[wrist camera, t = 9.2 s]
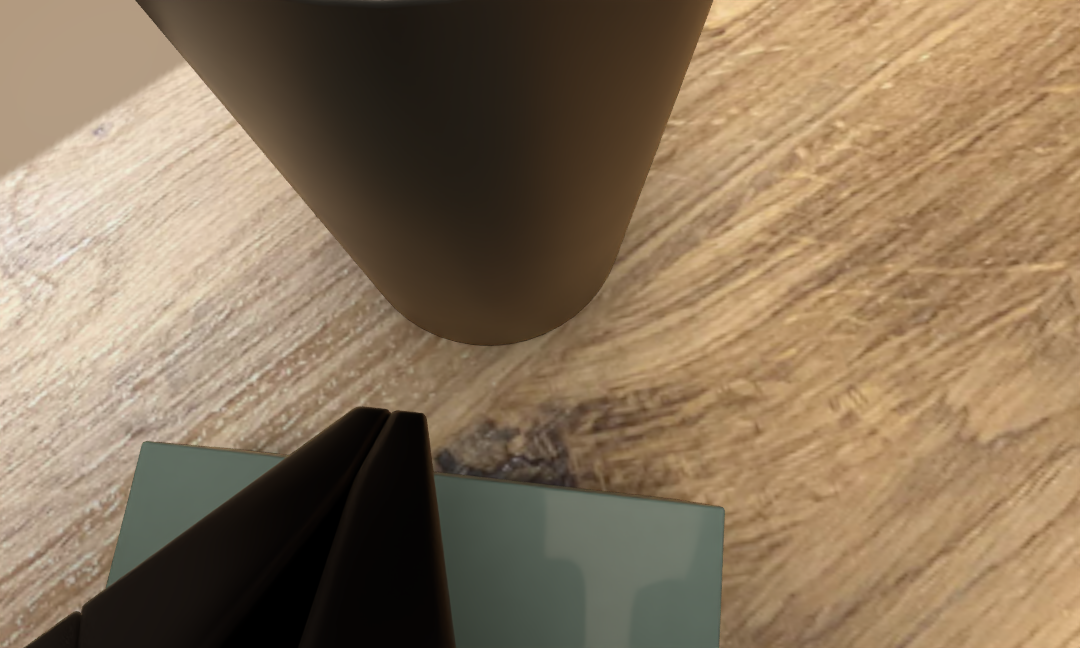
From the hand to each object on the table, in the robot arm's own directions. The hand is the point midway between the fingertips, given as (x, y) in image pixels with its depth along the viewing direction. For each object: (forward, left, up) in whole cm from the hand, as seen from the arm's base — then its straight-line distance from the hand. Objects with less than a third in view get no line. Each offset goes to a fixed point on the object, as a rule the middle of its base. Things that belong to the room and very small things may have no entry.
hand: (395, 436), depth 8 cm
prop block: (-2, 0, -7) cm, 7 cm away
